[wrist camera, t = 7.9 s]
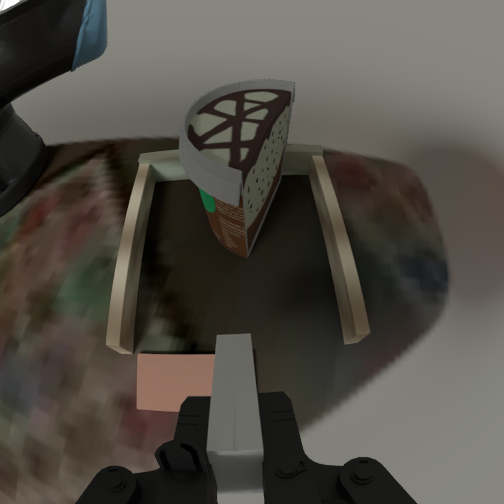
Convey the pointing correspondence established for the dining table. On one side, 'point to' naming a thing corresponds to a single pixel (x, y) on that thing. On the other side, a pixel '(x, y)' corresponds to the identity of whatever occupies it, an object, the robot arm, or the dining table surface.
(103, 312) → the dining table surface
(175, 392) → the mat
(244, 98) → the food container
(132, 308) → the beige u-shaped frame
